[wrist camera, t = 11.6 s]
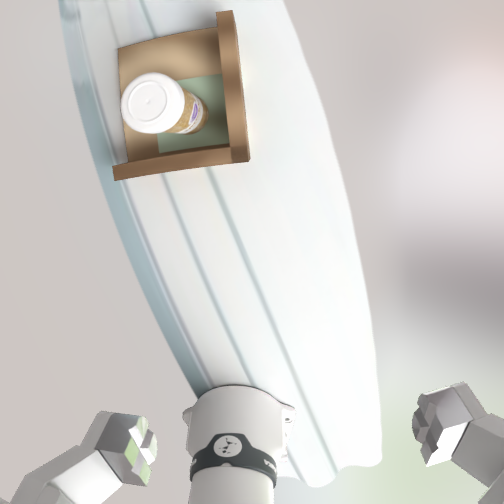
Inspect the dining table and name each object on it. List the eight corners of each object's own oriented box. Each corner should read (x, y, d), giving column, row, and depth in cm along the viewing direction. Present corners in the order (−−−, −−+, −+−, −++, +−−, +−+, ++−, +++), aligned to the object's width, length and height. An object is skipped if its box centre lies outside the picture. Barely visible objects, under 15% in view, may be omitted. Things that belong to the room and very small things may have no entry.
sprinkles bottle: (210, 133, 33) (180, 129, 20) (169, 136, 33) (119, 137, 20) (208, 92, 31) (178, 66, 19) (168, 97, 31) (117, 77, 19)
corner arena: (250, 158, 35) (248, 161, 30) (132, 174, 35) (114, 181, 30) (236, 26, 29) (232, 10, 24) (120, 50, 30) (101, 40, 25)
